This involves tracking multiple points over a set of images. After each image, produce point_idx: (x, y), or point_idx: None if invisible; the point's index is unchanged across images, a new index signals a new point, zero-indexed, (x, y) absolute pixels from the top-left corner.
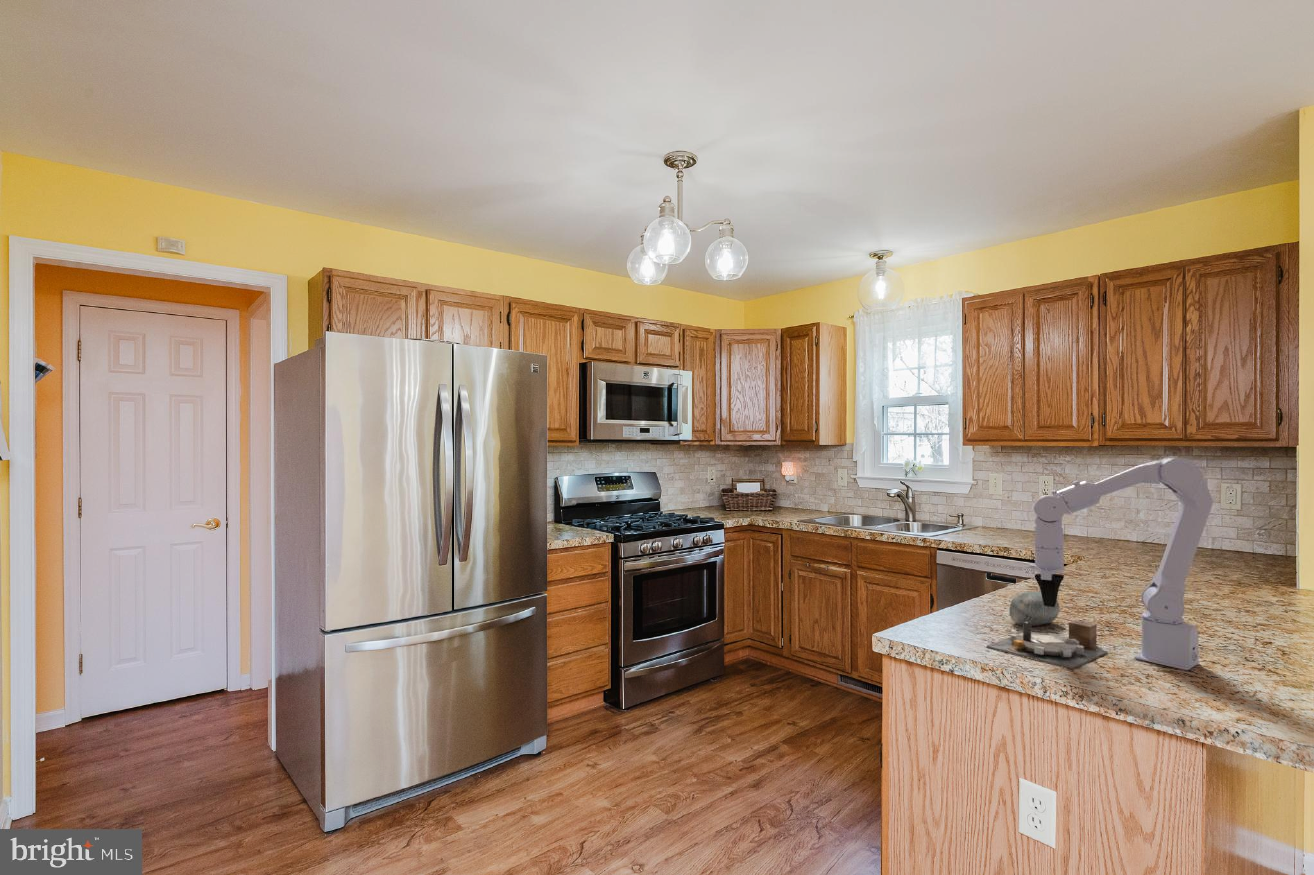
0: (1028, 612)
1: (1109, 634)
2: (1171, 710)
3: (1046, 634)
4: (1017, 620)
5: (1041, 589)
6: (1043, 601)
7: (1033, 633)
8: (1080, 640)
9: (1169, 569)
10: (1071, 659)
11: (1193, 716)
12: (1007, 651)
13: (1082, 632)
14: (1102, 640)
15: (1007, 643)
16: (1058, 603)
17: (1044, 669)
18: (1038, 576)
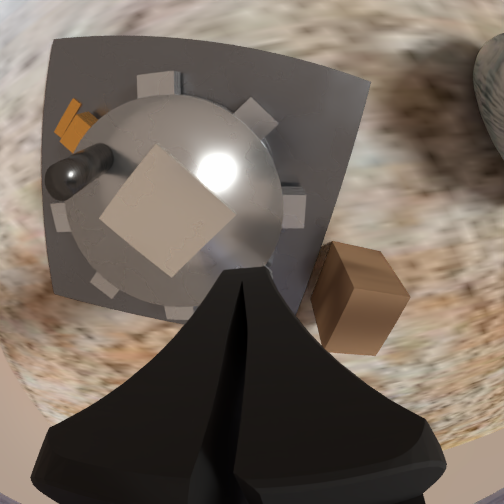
0: (496, 102)
1: (481, 303)
2: (32, 394)
3: (263, 194)
4: (477, 57)
5: (156, 362)
6: (212, 286)
7: (239, 144)
8: (323, 286)
9: None
10: None
11: (39, 407)
12: (44, 114)
13: (327, 311)
14: (421, 304)
15: (131, 70)
16: None
17: (7, 241)
18: (40, 489)
